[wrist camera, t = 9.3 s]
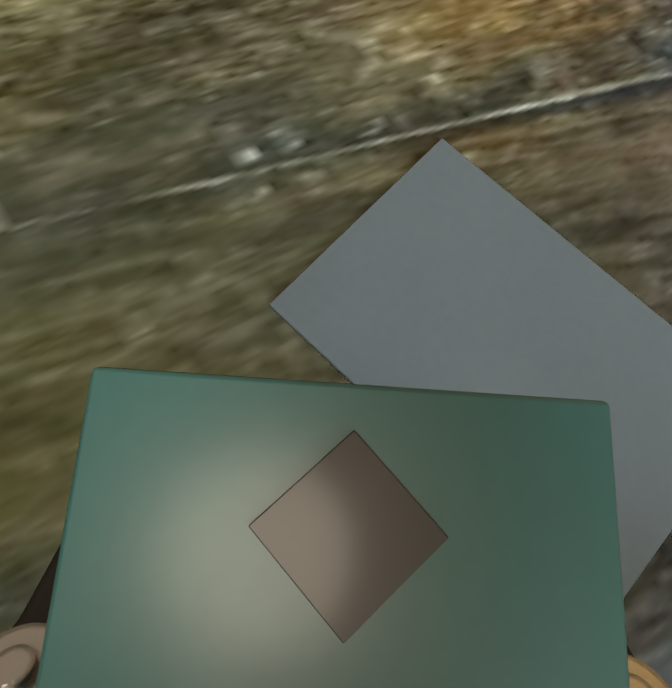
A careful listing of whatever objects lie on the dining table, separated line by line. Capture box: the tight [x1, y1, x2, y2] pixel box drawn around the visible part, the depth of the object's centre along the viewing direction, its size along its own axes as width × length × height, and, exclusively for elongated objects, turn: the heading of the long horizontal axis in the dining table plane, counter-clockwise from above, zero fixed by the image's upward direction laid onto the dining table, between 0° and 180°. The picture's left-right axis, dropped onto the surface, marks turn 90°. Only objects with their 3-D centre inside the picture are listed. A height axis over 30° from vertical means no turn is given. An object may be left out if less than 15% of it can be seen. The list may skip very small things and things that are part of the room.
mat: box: [269, 139, 672, 598], centre depth 26 cm, size 22×14×1 cm, turn 47°
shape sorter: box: [35, 367, 630, 688], centre depth 10 cm, size 6×6×10 cm
